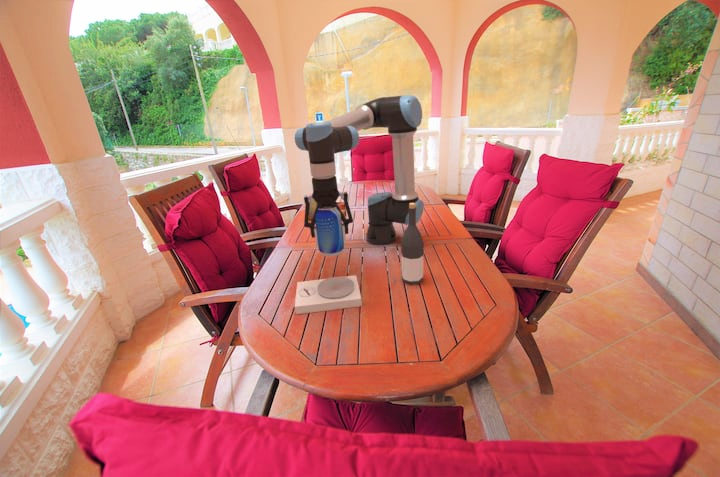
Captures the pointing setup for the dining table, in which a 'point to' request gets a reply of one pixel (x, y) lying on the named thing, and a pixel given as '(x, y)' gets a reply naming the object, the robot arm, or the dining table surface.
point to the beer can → (329, 231)
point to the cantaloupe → (312, 208)
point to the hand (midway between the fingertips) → (331, 244)
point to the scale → (327, 294)
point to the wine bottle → (412, 251)
